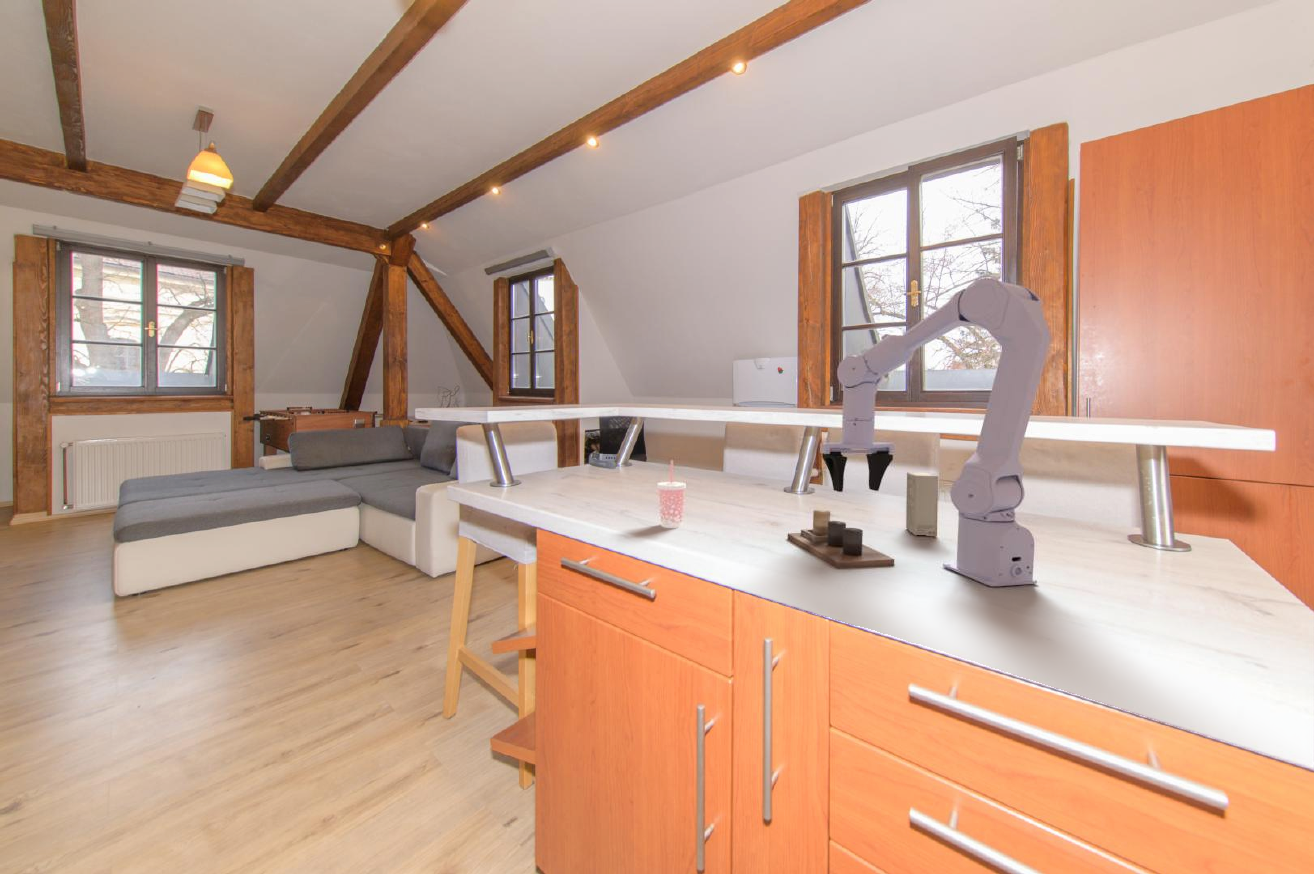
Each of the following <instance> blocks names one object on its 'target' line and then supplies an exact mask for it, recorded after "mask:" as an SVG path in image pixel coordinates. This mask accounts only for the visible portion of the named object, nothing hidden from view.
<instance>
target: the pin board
mask: <svg viewBox="0 0 1314 874" xmlns="http://www.w3.org/2000/svg"><path fill="white" fill-rule="evenodd" d="M863 533H864V531H863V530H862V529H860V528H857V527H847V523H846V522H844V521H839V520H838V521H837V520H830V521H829V522H828V536H816V535H814V534H813V528H809V529H808V528H806V529H800V532H793V533H791V532H790V533H789V532H788V533H787V539H788V540H789V541H791V542H793V543H794V544H796V545H798V546H799V547H801V548H803V549H804V550H806V551H808V552H809V553H811V554H813V555H814V556H816V557H817V558H819V559H820V560H823V561H824V562H826V563H828V564H830V565H831V566H832V567H834V568H836V569H849V568H850V569H851V568H866V567H867V568H869V567H871V568H872V567H885V566H886V567H889V566H895V559H894V558H893V557H891V556H889V555H886V554H884V553H883V552H880V551H878V550H876V549H873V548H872V547H870V546H867V545H865V544H863Z"/></svg>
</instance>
